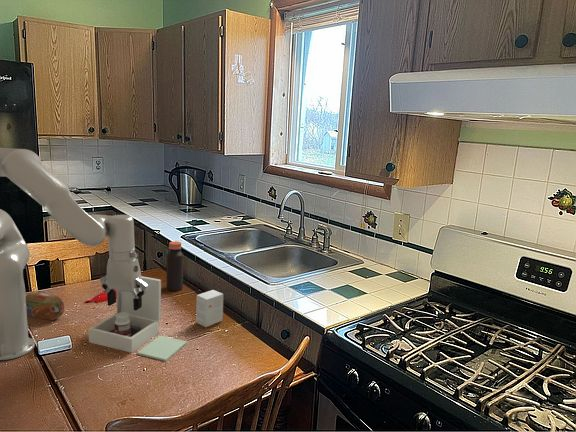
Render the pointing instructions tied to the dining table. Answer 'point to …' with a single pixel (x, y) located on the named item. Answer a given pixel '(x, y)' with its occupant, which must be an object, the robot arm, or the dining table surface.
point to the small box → (209, 308)
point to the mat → (162, 348)
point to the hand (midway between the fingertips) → (124, 306)
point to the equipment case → (132, 319)
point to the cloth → (102, 297)
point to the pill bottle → (122, 324)
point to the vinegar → (174, 267)
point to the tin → (44, 306)
